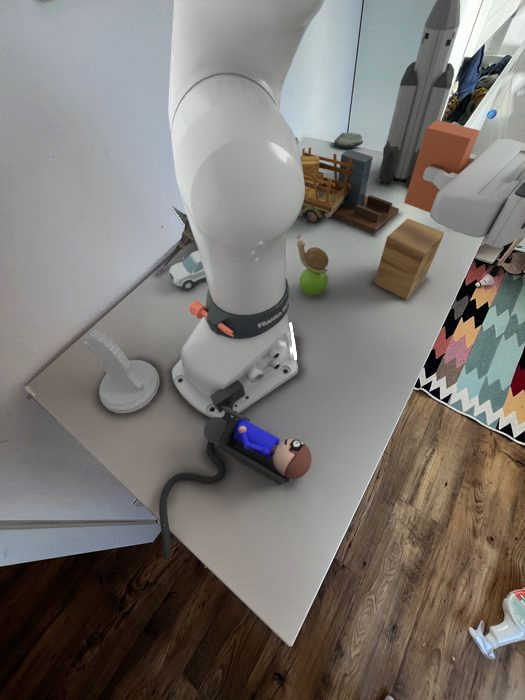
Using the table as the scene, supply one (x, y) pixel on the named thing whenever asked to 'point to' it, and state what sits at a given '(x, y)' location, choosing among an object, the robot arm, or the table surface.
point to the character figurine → (259, 447)
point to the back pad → (439, 159)
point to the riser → (407, 257)
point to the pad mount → (362, 197)
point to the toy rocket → (421, 93)
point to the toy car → (188, 271)
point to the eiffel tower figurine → (185, 234)
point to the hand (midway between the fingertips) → (433, 165)
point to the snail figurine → (313, 269)
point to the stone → (348, 140)
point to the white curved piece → (122, 376)
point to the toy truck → (322, 186)
